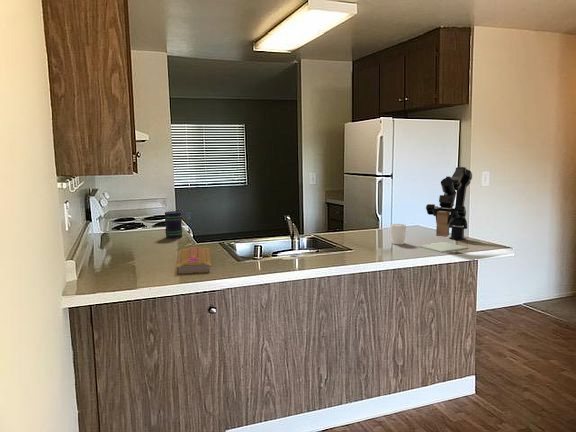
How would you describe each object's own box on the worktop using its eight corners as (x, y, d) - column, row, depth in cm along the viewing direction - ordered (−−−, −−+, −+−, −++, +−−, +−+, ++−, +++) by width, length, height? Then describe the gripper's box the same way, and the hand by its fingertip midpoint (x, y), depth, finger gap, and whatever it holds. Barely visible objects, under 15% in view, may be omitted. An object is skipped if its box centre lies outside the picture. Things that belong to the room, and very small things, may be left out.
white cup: (404, 241, 253) (404, 223, 252) (406, 244, 246) (407, 226, 244) (389, 241, 254) (389, 223, 253) (391, 244, 246) (391, 226, 245)
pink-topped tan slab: (179, 256, 227) (178, 244, 226) (209, 255, 229) (208, 242, 229) (176, 275, 193) (175, 260, 192) (211, 273, 195) (211, 258, 194)
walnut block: (438, 234, 236) (439, 210, 234) (449, 235, 233) (449, 211, 231) (436, 235, 232) (436, 212, 230) (446, 236, 229) (447, 212, 227)
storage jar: (162, 237, 275) (160, 212, 273) (174, 235, 283) (173, 210, 281) (174, 239, 270) (173, 213, 268) (186, 236, 278) (185, 211, 276)
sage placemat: (443, 242, 249) (443, 241, 249) (467, 248, 235) (467, 247, 235) (418, 246, 241) (418, 245, 241) (441, 252, 227) (441, 251, 227)
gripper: (427, 188, 237) (420, 212, 230) (465, 189, 227) (459, 215, 220) (431, 202, 245) (424, 225, 237) (468, 203, 235) (462, 228, 227)
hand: (442, 223), depth 230 cm, fingers closed on walnut block, 5 cm apart
